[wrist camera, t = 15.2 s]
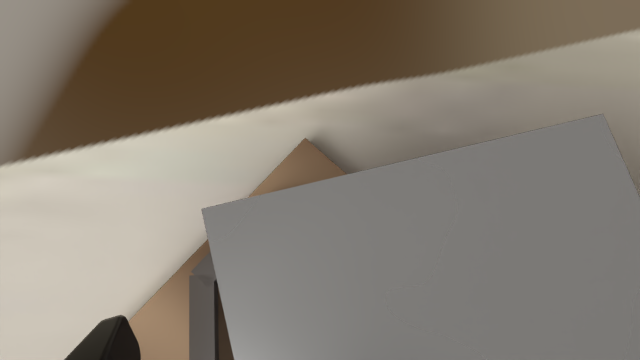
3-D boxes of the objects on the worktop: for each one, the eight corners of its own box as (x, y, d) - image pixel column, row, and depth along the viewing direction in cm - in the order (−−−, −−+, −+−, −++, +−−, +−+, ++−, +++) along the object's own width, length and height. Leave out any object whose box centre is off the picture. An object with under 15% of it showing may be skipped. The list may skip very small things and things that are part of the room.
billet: (389, 360, 16) (800, 562, 4) (273, 398, 16) (331, 807, 3) (356, 245, 17) (603, 113, 5) (245, 275, 16) (200, 208, 4)
